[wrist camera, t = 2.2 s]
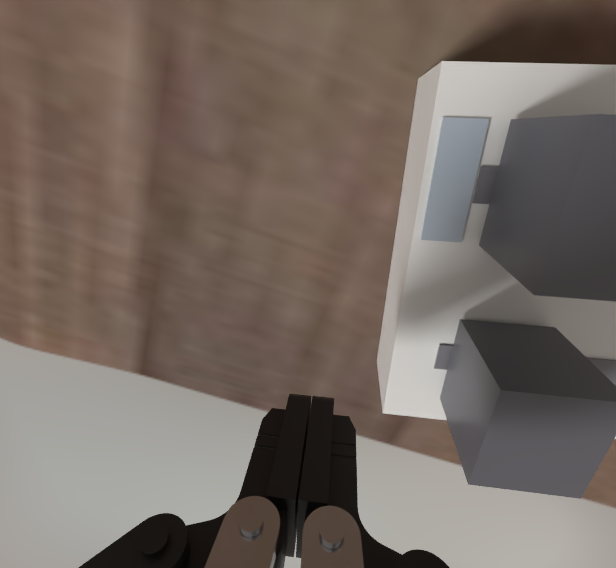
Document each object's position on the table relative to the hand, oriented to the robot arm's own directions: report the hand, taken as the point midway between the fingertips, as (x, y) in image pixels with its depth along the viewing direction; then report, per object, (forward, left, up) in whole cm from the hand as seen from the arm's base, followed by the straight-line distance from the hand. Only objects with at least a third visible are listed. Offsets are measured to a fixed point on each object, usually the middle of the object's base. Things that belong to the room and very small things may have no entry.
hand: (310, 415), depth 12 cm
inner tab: (-10, 0, -3) cm, 11 cm away
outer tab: (-5, +5, -3) cm, 8 cm away
